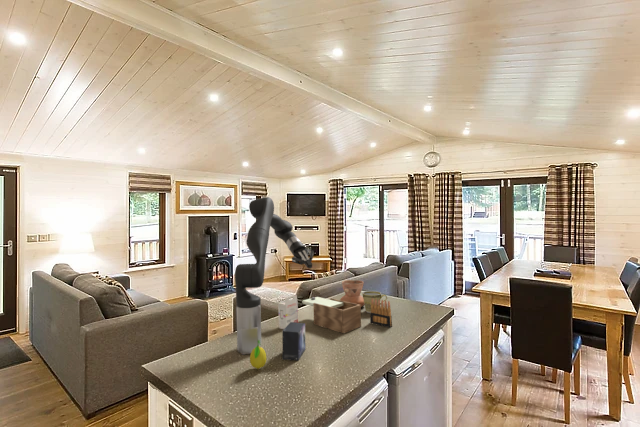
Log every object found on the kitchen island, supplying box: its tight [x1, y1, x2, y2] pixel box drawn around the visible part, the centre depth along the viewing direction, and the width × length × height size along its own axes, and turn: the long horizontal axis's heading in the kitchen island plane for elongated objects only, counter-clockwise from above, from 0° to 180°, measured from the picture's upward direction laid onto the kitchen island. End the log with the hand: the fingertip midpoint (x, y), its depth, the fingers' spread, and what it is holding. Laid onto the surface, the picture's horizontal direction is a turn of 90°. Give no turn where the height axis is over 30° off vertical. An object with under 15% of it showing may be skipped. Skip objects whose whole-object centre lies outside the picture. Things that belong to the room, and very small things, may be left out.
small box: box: [281, 322, 306, 362], centre depth 125 cm, size 11×6×10 cm, turn 168°
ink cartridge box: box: [277, 294, 299, 330], centre depth 156 cm, size 9×5×15 cm, turn 143°
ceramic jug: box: [339, 279, 365, 308], centre depth 189 cm, size 18×14×14 cm
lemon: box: [249, 340, 267, 370], centre depth 113 cm, size 7×6×10 cm
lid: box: [301, 296, 343, 308], centre depth 163 cm, size 18×10×2 cm, turn 45°
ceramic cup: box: [361, 290, 388, 314], centre depth 177 cm, size 13×10×10 cm
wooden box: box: [313, 298, 362, 334], centre depth 157 cm, size 19×12×10 cm, turn 45°
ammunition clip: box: [369, 298, 393, 328], centre depth 156 cm, size 11×2×12 cm, turn 50°
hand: (310, 266), depth 167 cm, fingers closed
